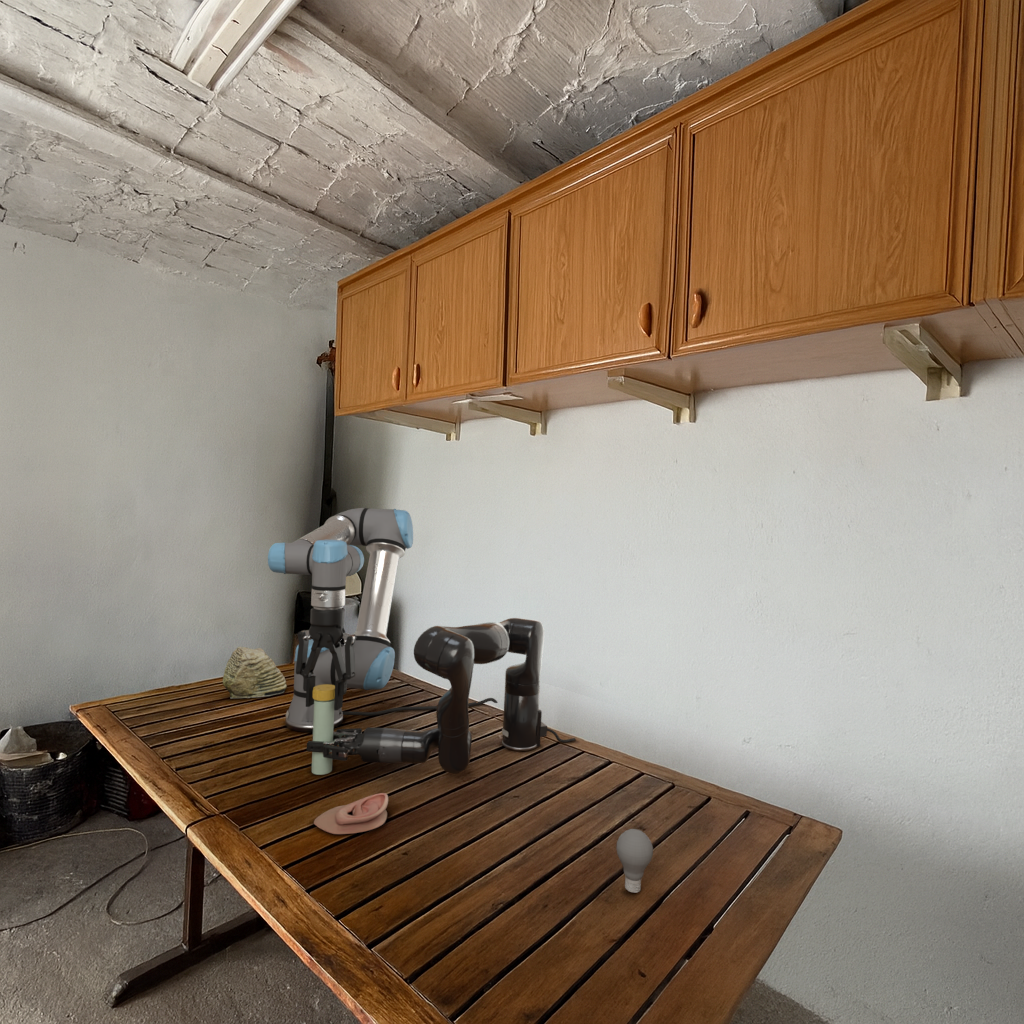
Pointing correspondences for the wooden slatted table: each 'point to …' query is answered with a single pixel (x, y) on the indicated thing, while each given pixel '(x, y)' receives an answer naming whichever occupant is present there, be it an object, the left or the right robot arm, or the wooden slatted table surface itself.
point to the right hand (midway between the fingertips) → (311, 741)
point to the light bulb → (634, 857)
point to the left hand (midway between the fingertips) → (324, 706)
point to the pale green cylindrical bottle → (322, 734)
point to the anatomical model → (355, 816)
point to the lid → (324, 692)
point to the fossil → (252, 674)
